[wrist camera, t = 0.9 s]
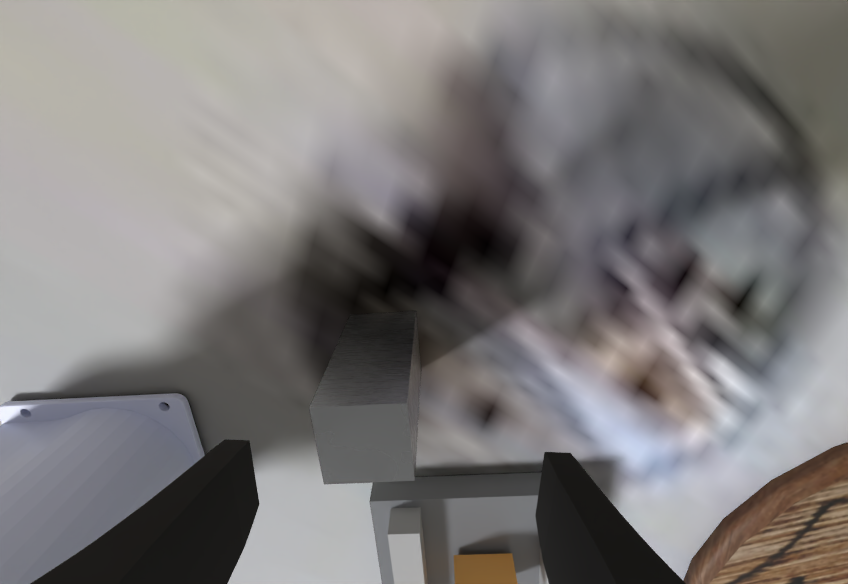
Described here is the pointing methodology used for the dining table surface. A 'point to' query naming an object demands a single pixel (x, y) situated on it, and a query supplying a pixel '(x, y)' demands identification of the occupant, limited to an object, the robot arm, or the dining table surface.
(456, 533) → the box
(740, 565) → the trivet
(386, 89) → the dining table surface
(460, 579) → the breaker switch
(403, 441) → the brushed metal block
